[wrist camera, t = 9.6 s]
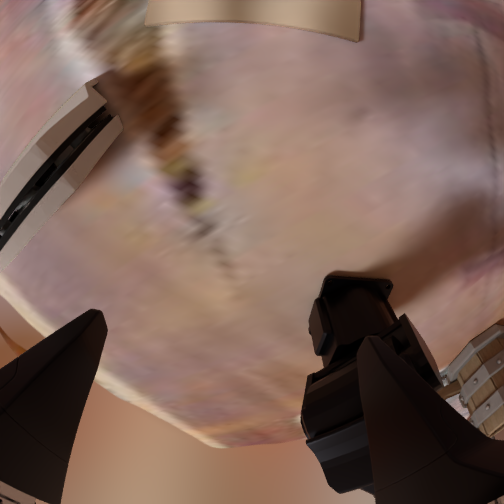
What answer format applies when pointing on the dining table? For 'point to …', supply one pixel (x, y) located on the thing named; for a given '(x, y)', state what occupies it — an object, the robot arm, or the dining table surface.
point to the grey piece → (63, 178)
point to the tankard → (480, 380)
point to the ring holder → (263, 14)
